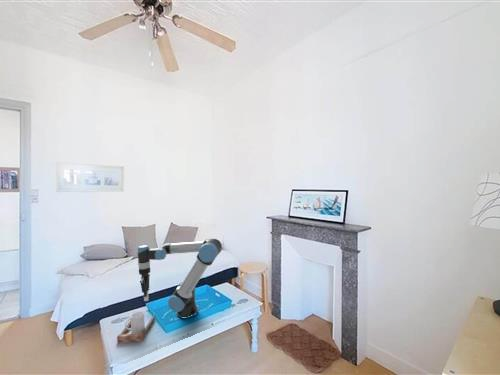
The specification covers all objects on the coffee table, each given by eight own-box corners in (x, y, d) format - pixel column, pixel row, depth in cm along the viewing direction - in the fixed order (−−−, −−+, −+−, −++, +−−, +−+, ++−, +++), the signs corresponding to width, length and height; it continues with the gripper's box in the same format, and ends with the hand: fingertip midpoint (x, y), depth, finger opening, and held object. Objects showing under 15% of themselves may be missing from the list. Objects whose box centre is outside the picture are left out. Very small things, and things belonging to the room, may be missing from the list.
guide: (154, 320, 182) (154, 314, 182) (142, 341, 158) (141, 335, 158) (133, 321, 181) (133, 315, 181) (117, 342, 157) (117, 336, 157)
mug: (125, 338, 161) (124, 320, 161) (126, 331, 169) (125, 313, 168) (145, 334, 166) (144, 316, 165) (145, 327, 173) (144, 309, 173)
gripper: (142, 264, 186) (144, 296, 187) (135, 271, 173) (137, 305, 174) (152, 264, 187) (154, 295, 188) (146, 270, 174) (148, 304, 175)
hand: (146, 300), depth 181 cm, fingers closed
